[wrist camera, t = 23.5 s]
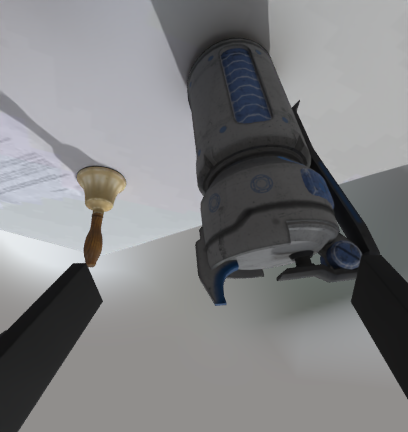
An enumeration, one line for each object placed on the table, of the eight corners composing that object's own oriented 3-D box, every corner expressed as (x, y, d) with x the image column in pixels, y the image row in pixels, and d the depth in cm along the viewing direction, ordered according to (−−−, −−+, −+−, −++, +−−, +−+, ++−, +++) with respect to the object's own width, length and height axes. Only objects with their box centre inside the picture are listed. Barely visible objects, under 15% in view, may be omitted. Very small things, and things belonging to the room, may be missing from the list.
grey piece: (280, 108, 32) (351, 294, 20) (186, 121, 32) (206, 311, 21) (303, 20, 23) (453, 267, 11) (172, 38, 23) (193, 298, 12)
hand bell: (81, 191, 44) (68, 274, 37) (71, 163, 37) (52, 258, 30) (126, 194, 46) (122, 272, 39) (125, 168, 39) (120, 257, 32)
